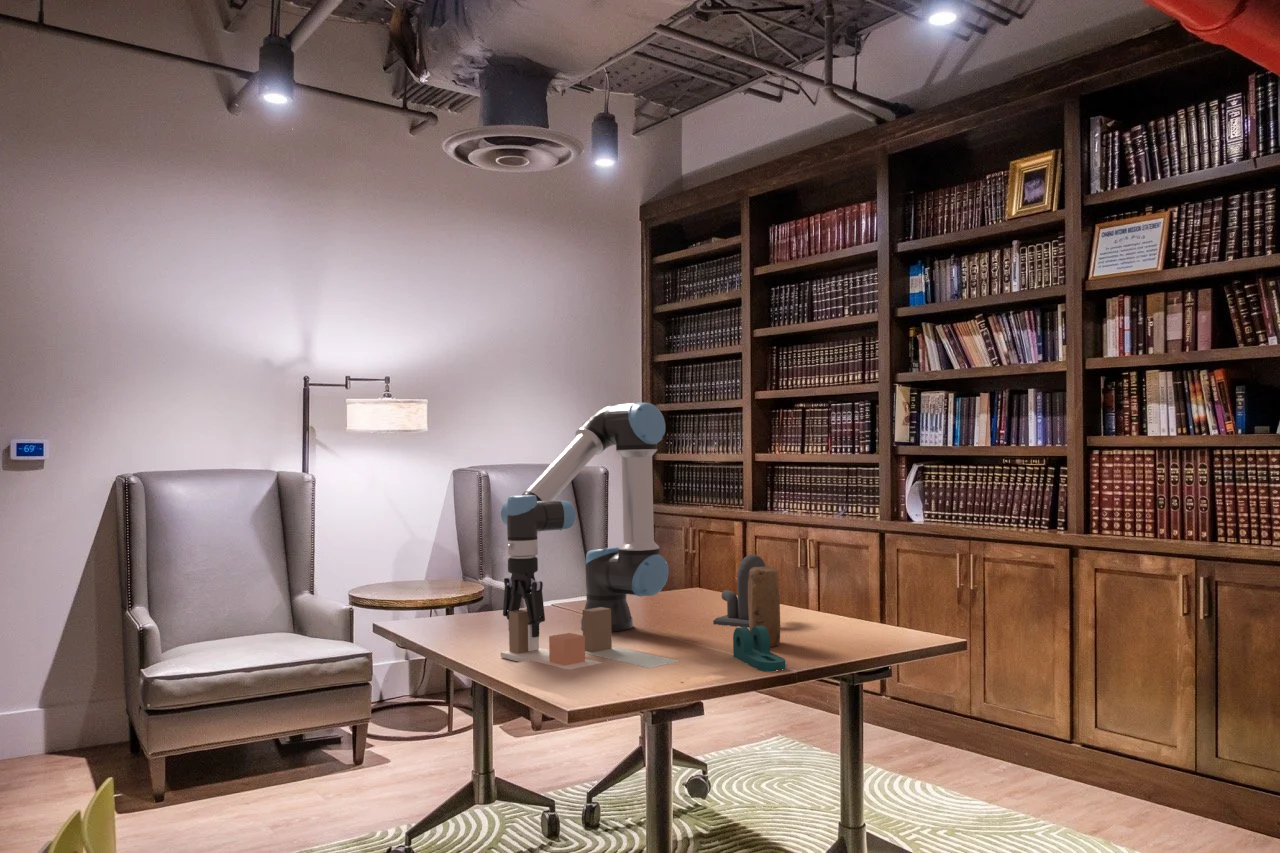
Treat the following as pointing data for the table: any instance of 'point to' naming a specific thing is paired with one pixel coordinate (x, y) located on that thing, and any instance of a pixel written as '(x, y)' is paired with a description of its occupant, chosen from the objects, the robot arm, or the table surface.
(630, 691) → the table surface
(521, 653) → the cube strip
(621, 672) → the table surface
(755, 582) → the block
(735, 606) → the faucet
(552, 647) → the cube
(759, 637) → the bracket
